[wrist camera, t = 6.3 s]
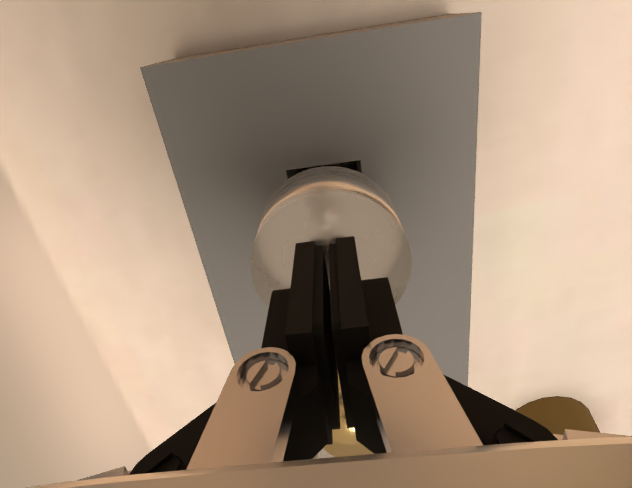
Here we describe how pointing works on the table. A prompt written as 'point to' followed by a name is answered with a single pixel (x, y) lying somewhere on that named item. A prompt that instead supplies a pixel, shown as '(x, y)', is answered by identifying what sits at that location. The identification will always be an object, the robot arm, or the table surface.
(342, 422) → the brass shaft
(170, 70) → the mount
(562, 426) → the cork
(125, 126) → the table surface
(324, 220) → the knob
